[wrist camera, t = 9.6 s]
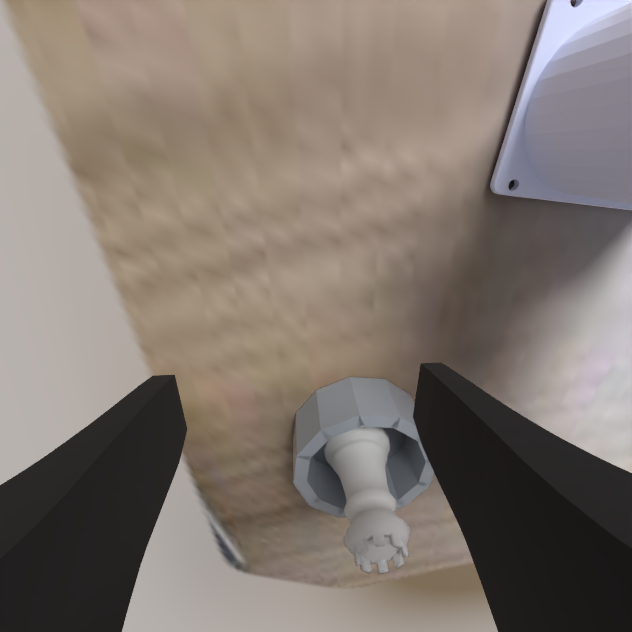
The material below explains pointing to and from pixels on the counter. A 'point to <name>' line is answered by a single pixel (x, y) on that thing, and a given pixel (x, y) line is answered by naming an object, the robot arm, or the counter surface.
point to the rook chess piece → (368, 498)
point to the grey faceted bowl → (345, 415)
